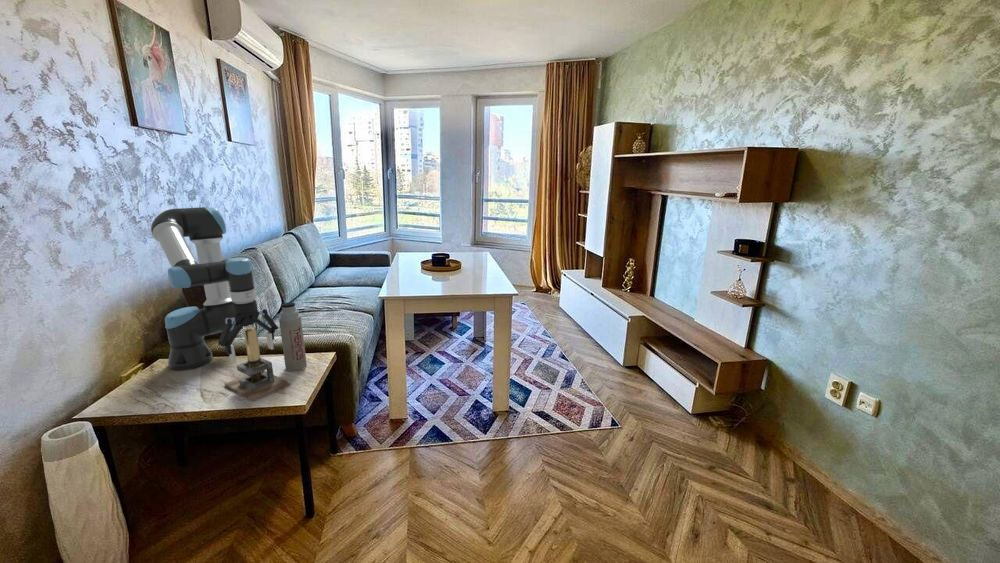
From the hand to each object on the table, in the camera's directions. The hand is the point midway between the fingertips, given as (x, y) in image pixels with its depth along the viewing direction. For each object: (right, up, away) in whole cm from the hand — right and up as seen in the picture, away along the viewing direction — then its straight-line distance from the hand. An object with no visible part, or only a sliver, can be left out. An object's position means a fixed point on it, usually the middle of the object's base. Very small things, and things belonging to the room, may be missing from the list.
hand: (252, 354), depth 152 cm
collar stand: (0, -12, +3) cm, 13 cm away
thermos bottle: (+7, -9, +18) cm, 21 cm away
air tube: (0, -11, +3) cm, 12 cm away
